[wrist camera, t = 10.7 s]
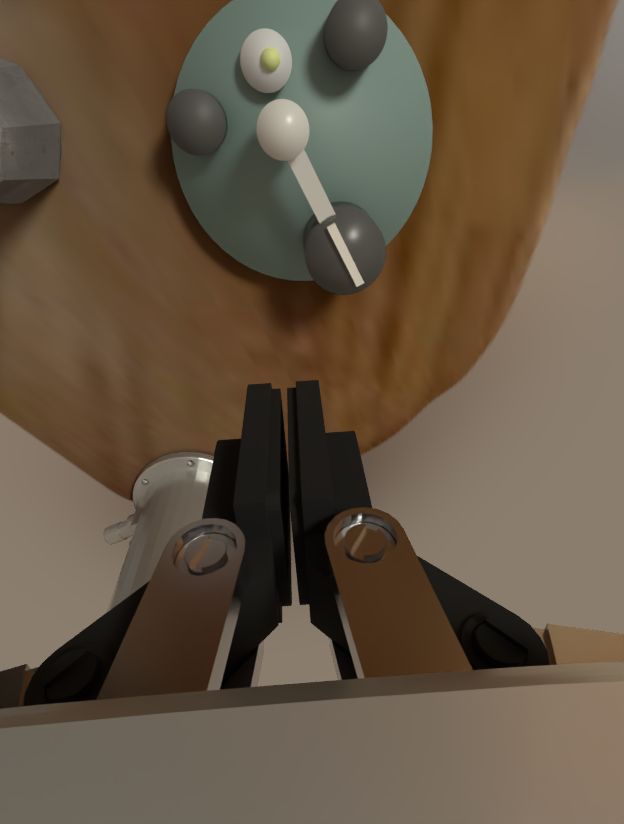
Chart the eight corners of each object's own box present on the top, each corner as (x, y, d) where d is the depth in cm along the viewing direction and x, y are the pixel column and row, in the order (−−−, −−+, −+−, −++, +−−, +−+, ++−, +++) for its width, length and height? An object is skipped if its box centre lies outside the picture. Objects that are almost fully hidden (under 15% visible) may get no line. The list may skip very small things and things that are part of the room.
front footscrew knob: (387, 255, 36) (404, 278, 31) (324, 290, 37) (330, 317, 33) (308, 78, 30) (313, 72, 25) (235, 127, 31) (226, 131, 26)
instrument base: (252, 310, 40) (250, 326, 37) (120, 74, 30) (103, 71, 28) (455, 214, 36) (470, 224, 34) (376, -83, 27) (387, -106, 24)
